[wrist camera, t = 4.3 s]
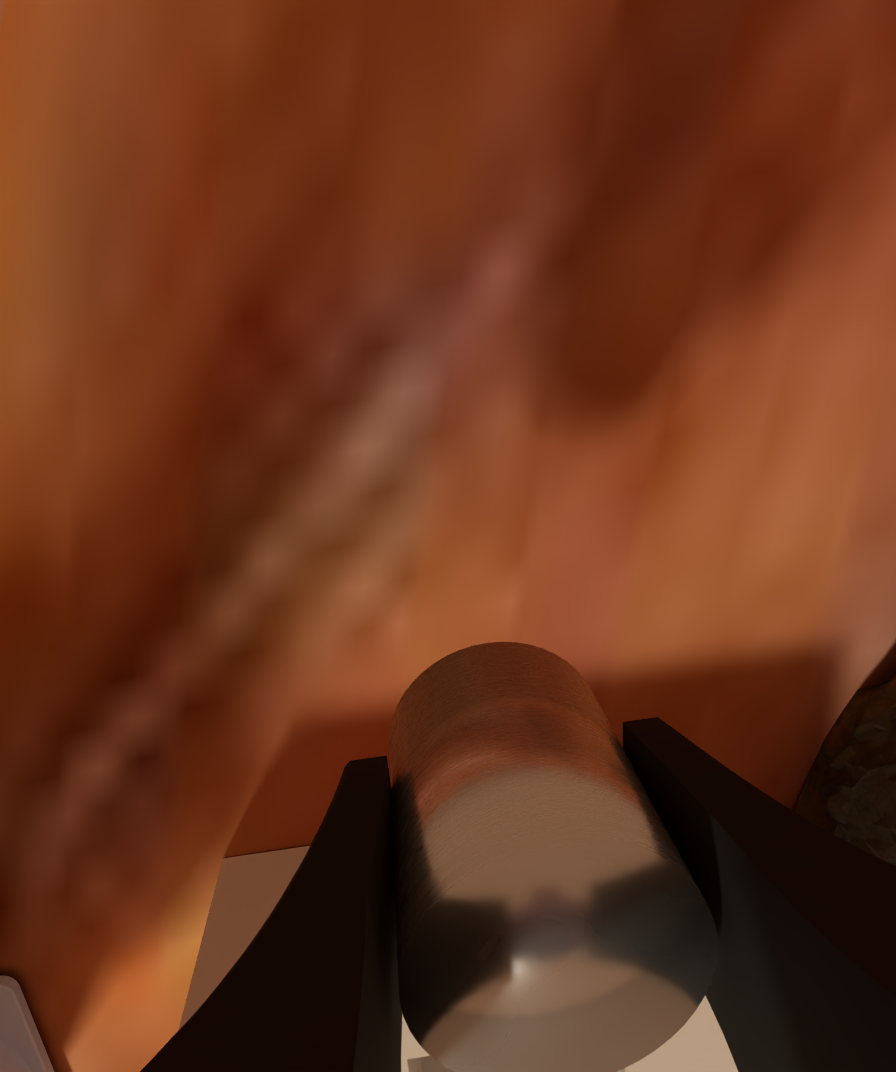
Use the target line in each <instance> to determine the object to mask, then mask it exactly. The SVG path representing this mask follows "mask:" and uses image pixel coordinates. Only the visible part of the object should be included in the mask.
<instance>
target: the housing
mask: <svg viewBox="0 0 896 1072" xmlns="http://www.w3.org/2000/svg"><path fill="white" fill-rule="evenodd" d="M309 847H310V846H304V847H297V848H291V849H284V850H277V851H270V852H264V853H257V854H250V855H243V856H237V857H230V858H223V860H222V864H221V868H220V872H219V876H218V880H217V883H216V887H215V891H214V895H213V899H212V903H211V907H210V910H209V914H208V918H207V922H206V926H205V930H204V934H203V938H202V941H201V945H200V949H199V953H198V957H197V961H196V965H195V968H194V972H193V976H192V980H191V984H190V988H189V992H188V996H187V999H186V1003H185V1007H184V1011H183V1015H182V1019H181V1023H180V1026H179V1030H180V1028H181V1027H182V1026H183V1025H184V1024H185V1023H186V1022H187V1021H188V1020H189V1019H190V1018H191V1017H192V1015H193V1014H194V1013H195V1012H196V1011H197V1010H198V1009H199V1007H200V1006H201V1005H202V1004H203V1003H204V1002H205V1000H206V999H207V998H208V997H209V996H210V994H211V993H212V992H213V991H214V990H215V988H216V987H217V986H218V985H219V983H220V982H221V981H222V979H223V978H224V977H225V976H226V974H227V973H228V972H229V970H230V969H231V968H232V967H233V965H234V964H235V963H236V962H237V960H238V959H239V958H240V956H241V955H242V954H243V952H244V951H245V950H246V948H247V947H248V946H249V944H250V943H251V941H252V940H253V939H254V937H255V936H256V934H257V933H258V931H259V930H260V929H261V927H262V926H263V924H264V923H265V921H266V920H267V918H268V917H269V915H270V914H271V912H272V911H273V909H274V908H275V906H276V904H277V903H278V901H279V900H280V898H281V897H282V895H283V893H284V891H285V890H286V888H287V886H288V885H289V883H290V881H291V879H292V878H293V876H294V874H295V873H296V871H297V869H298V868H299V866H300V864H301V862H302V861H303V859H304V857H305V855H306V853H307V851H308V849H309ZM179 1030H178V1031H179ZM401 1072H454V1071H452V1070H450V1069H448V1068H446V1067H445V1066H443V1065H442V1064H440V1063H439V1062H438V1061H436V1060H435V1059H434V1058H432V1057H431V1056H430V1055H429V1054H428V1053H427V1052H426V1051H425V1050H424V1049H423V1048H422V1047H421V1046H420V1045H419V1044H418V1042H417V1041H416V1039H415V1038H414V1036H413V1035H412V1033H411V1032H410V1030H409V1028H408V1026H407V1024H406V1022H405V1019H404V1017H403V1013H402V1041H401ZM617 1072H738V1070H737V1067H736V1065H735V1062H734V1060H733V1057H732V1055H731V1052H730V1050H729V1047H728V1045H727V1042H726V1040H725V1037H724V1035H723V1032H722V1030H721V1028H720V1026H719V1024H718V1021H717V1019H716V1017H715V1015H714V1013H713V1011H712V1008H711V1006H710V1004H709V1002H708V1000H707V998H706V996H705V997H704V998H703V1000H702V1002H701V1003H700V1005H699V1006H698V1008H697V1010H696V1011H695V1012H694V1014H693V1015H692V1016H691V1017H690V1019H689V1020H688V1021H687V1022H686V1024H685V1025H684V1026H683V1027H682V1028H681V1029H680V1030H679V1031H678V1032H677V1033H676V1034H675V1035H674V1036H673V1037H672V1038H670V1039H669V1040H668V1041H667V1042H665V1043H664V1044H663V1045H662V1046H660V1047H659V1048H658V1049H657V1050H655V1051H654V1052H652V1053H650V1054H649V1055H647V1056H646V1057H644V1058H643V1059H641V1060H639V1061H638V1062H636V1063H634V1064H632V1065H630V1066H628V1067H626V1068H624V1069H622V1070H620V1071H617Z"/></svg>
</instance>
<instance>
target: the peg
mask: <svg viewBox="0 0 896 1072" xmlns="http://www.w3.org/2000/svg"><path fill="white" fill-rule="evenodd" d="M389 749H390V775H391V791H392V817H393V855H394V882H395V908H396V935H397V961H398V987H399V1001H400V1006H401V1010H402V1013H403V1017H404V1019H405V1022H406V1024H407V1026H408V1028H409V1030H410V1032H411V1033H412V1035H413V1036H414V1038H415V1039H416V1041H417V1042H418V1044H419V1045H420V1046H421V1047H422V1048H423V1049H424V1050H425V1051H426V1052H427V1053H428V1054H429V1055H430V1056H431V1057H432V1058H434V1059H435V1060H436V1061H438V1062H439V1063H440V1064H442V1065H443V1066H445V1067H446V1068H448V1069H450V1070H452V1071H454V1072H617V1071H620V1070H622V1069H624V1068H626V1067H628V1066H630V1065H632V1064H634V1063H636V1062H638V1061H639V1060H641V1059H643V1058H644V1057H646V1056H647V1055H649V1054H650V1053H652V1052H654V1051H655V1050H657V1049H658V1048H659V1047H660V1046H662V1045H663V1044H664V1043H665V1042H667V1041H668V1040H669V1039H670V1038H672V1037H673V1036H674V1035H675V1034H676V1033H677V1032H678V1031H679V1030H680V1029H681V1028H682V1027H683V1026H684V1025H685V1024H686V1022H687V1021H688V1020H689V1019H690V1017H691V1016H692V1015H693V1014H694V1012H695V1011H696V1010H697V1008H698V1006H699V1005H700V1003H701V1002H702V1000H703V998H704V997H705V995H706V993H707V990H708V988H709V986H710V984H711V981H712V978H713V975H714V971H715V968H716V962H717V953H718V942H717V932H716V927H715V923H714V919H713V917H712V914H711V912H710V910H709V907H708V905H707V903H706V901H705V900H704V898H703V896H702V894H701V892H700V890H699V888H698V887H697V885H696V883H695V881H694V879H693V877H692V875H691V874H690V872H689V870H688V868H687V866H686V864H685V862H684V861H683V859H682V857H681V855H680V853H679V851H678V849H677V848H676V846H675V844H674V842H673V840H672V838H671V836H670V835H669V833H668V831H667V829H666V827H665V825H664V823H663V822H662V820H661V818H660V816H659V814H658V812H657V810H656V809H655V807H654V805H653V803H652V801H651V799H650V797H649V796H648V794H647V792H646V790H645V788H644V786H643V784H642V783H641V781H640V779H639V777H638V775H637V773H636V771H635V770H634V768H633V766H632V764H631V762H630V760H629V758H628V757H627V755H626V753H625V751H624V749H623V747H622V745H621V744H620V742H619V740H618V738H617V736H616V734H615V732H614V731H613V729H612V727H611V725H610V723H609V721H608V719H607V718H606V716H605V714H604V712H603V710H602V708H601V706H600V705H599V703H598V701H597V699H596V697H595V695H594V693H593V692H592V690H591V688H590V686H589V685H588V683H587V682H586V680H585V679H584V677H583V676H582V675H581V674H580V673H579V672H578V671H577V670H576V669H575V668H574V667H573V666H572V665H571V664H569V663H568V662H567V661H566V660H564V659H562V658H561V657H559V656H558V655H556V654H554V653H552V652H550V651H547V650H545V649H543V648H539V647H536V646H533V645H528V644H522V643H516V642H494V643H485V644H480V645H475V646H471V647H468V648H465V649H461V650H459V651H456V652H454V653H452V654H450V655H448V656H446V657H444V658H442V659H441V660H439V661H437V662H436V663H434V664H433V665H431V666H430V667H429V668H427V669H426V670H425V671H424V672H422V673H421V674H420V675H419V676H418V677H417V678H416V679H415V680H414V681H413V682H412V684H411V685H410V686H409V688H408V689H407V690H406V692H405V693H404V695H403V696H402V698H401V700H400V702H399V703H398V705H397V708H396V710H395V713H394V715H393V719H392V723H391V727H390V737H389Z"/></svg>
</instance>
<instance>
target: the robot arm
mask: <svg viewBox="0 0 896 1072" xmlns="http://www.w3.org/2000/svg"><path fill="white" fill-rule="evenodd" d="M623 749H624V751H625V753H626V755H627V757H628V758H629V760H630V762H631V764H632V766H633V768H634V770H635V771H636V773H637V775H638V777H639V779H640V781H641V783H642V784H643V786H644V788H645V790H646V792H647V794H648V796H649V797H650V799H651V801H652V803H653V805H654V807H655V809H656V810H657V812H658V814H659V816H660V818H661V820H662V822H663V823H664V825H665V827H666V829H667V831H668V833H669V835H670V836H671V838H672V840H673V842H674V844H675V846H676V848H677V849H678V851H679V853H680V855H681V857H682V859H683V861H684V862H685V864H686V866H687V868H688V870H689V872H690V874H691V875H692V877H693V879H694V881H695V883H696V885H697V887H698V888H699V890H700V892H701V894H702V896H703V898H704V900H705V901H706V903H707V905H708V907H709V910H710V912H711V914H712V917H713V919H714V923H715V927H716V932H717V942H718V953H717V962H716V968H715V971H714V975H713V978H712V981H711V984H710V986H709V988H708V990H707V993H706V995H705V996H706V998H707V1000H708V1002H709V1004H710V1006H711V1008H712V1011H713V1013H714V1015H715V1017H716V1019H717V1021H718V1024H719V1026H720V1028H721V1030H722V1032H723V1035H724V1037H725V1040H726V1042H727V1045H728V1047H729V1050H730V1052H731V1055H732V1057H733V1060H734V1062H735V1065H736V1067H737V1070H738V1072H896V866H895V865H892V864H890V863H888V862H886V861H884V860H882V859H880V858H878V857H876V856H874V855H872V854H870V853H868V852H866V851H864V850H862V849H860V848H858V847H856V846H854V845H853V844H851V843H849V842H847V841H845V840H843V839H841V838H839V837H837V836H835V835H833V834H831V833H830V832H828V831H826V830H824V829H823V828H821V827H819V826H817V825H815V824H814V823H812V822H810V821H809V820H807V819H805V818H804V817H802V816H800V815H799V814H797V813H795V812H794V811H792V810H791V809H789V808H787V807H786V806H784V805H782V804H781V803H779V802H777V801H776V800H774V799H773V798H771V797H770V796H768V795H767V794H765V793H763V792H762V791H760V790H759V789H757V788H756V787H754V786H753V785H751V784H750V783H748V782H747V781H745V780H744V779H742V778H741V777H740V776H738V775H737V774H735V773H734V772H732V771H731V770H730V769H728V768H727V767H725V766H724V765H722V764H721V763H720V762H718V761H717V760H715V759H714V758H713V757H711V756H710V755H709V754H707V753H706V752H704V751H703V750H702V749H700V748H699V747H698V746H696V745H695V744H694V743H692V742H691V741H689V740H688V739H687V738H685V737H684V736H683V735H681V734H680V733H679V732H677V731H676V730H675V729H673V728H672V727H671V726H669V725H668V724H666V723H665V722H664V721H662V720H661V719H659V718H658V717H656V718H649V719H642V720H635V721H627V722H623ZM401 1041H402V1010H401V1006H400V1001H399V987H398V961H397V935H396V908H395V882H394V855H393V817H392V791H391V783H390V776H389V770H388V763H387V756H381V757H374V758H367V759H360V760H353V761H350V762H349V763H348V764H347V765H346V766H345V768H344V771H343V774H342V777H341V780H340V782H339V785H338V787H337V790H336V792H335V795H334V797H333V800H332V802H331V804H330V806H329V809H328V811H327V813H326V815H325V817H324V820H323V822H322V824H321V826H320V828H319V830H318V832H317V834H316V836H315V838H314V840H313V842H312V844H311V846H310V847H309V849H308V851H307V853H306V855H305V857H304V859H303V861H302V862H301V864H300V866H299V868H298V869H297V871H296V873H295V874H294V876H293V878H292V879H291V881H290V883H289V885H288V886H287V888H286V890H285V891H284V893H283V895H282V897H281V898H280V900H279V901H278V903H277V904H276V906H275V908H274V909H273V911H272V912H271V914H270V915H269V917H268V918H267V920H266V921H265V923H264V924H263V926H262V927H261V929H260V930H259V931H258V933H257V934H256V936H255V937H254V939H253V940H252V941H251V943H250V944H249V946H248V947H247V948H246V950H245V951H244V952H243V954H242V955H241V956H240V958H239V959H238V960H237V962H236V963H235V964H234V965H233V967H232V968H231V969H230V970H229V972H228V973H227V974H226V976H225V977H224V978H223V979H222V981H221V982H220V983H219V985H218V986H217V987H216V988H215V990H214V991H213V992H212V993H211V994H210V996H209V997H208V998H207V999H206V1000H205V1002H204V1003H203V1004H202V1005H201V1006H200V1007H199V1009H198V1010H197V1011H196V1012H195V1013H194V1014H193V1015H192V1017H191V1018H190V1019H189V1020H188V1021H187V1022H186V1023H185V1024H184V1025H183V1026H182V1027H181V1028H180V1030H179V1031H178V1032H177V1033H176V1034H175V1035H174V1036H173V1037H172V1038H171V1039H170V1040H169V1041H168V1043H167V1044H166V1045H165V1046H164V1047H163V1048H162V1049H161V1050H160V1051H159V1052H158V1053H157V1054H156V1056H155V1057H154V1058H153V1059H152V1060H151V1061H150V1062H149V1063H148V1064H147V1065H146V1066H145V1067H144V1068H143V1069H142V1070H141V1071H140V1072H401ZM0 1072H54V1070H53V1067H52V1065H51V1062H50V1060H49V1057H48V1055H47V1052H46V1050H45V1047H44V1045H43V1042H42V1040H41V1037H40V1035H39V1032H38V1030H37V1027H36V1025H35V1023H34V1020H33V1018H32V1015H31V1013H30V1010H29V1008H28V1005H27V1003H26V1000H25V998H24V995H23V993H22V990H21V988H20V985H19V984H18V982H17V981H16V980H15V979H13V978H12V977H9V976H0Z"/></svg>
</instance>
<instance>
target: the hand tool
mask: <svg viewBox="0 0 896 1072" xmlns="http://www.w3.org/2000/svg"><path fill="white" fill-rule="evenodd" d="M794 812H795V813H797V814H799V815H800V816H802V817H804V818H805V819H807V820H809V821H810V822H812V823H814V824H815V825H817V826H819V827H821V828H823V829H824V830H826V831H828V832H830V833H831V834H833V835H835V836H837V837H839V838H841V839H843V840H845V841H847V842H849V843H851V844H853V845H854V846H856V847H858V848H860V849H862V850H864V851H866V852H868V853H870V854H872V855H874V856H876V857H878V858H880V859H882V860H884V861H886V862H888V863H890V864H892V865H895V866H896V674H895V675H894V676H893V678H892V679H891V680H890V681H888V682H887V683H885V684H884V685H882V686H868V687H866V688H863V689H861V690H859V691H857V692H856V693H855V695H854V696H853V697H852V699H851V700H850V701H849V703H848V704H847V706H846V707H845V709H844V710H843V712H842V713H841V715H840V716H839V718H838V719H837V721H836V723H835V724H834V726H833V728H832V729H831V731H830V733H829V734H828V736H827V737H826V739H825V741H824V743H823V745H822V747H821V749H820V751H819V753H818V755H817V758H816V760H815V762H814V764H813V766H812V768H811V770H810V772H809V775H808V777H807V779H806V781H805V784H804V786H803V789H802V791H801V794H800V796H799V798H798V800H797V803H796V806H795V809H794Z"/></svg>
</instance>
